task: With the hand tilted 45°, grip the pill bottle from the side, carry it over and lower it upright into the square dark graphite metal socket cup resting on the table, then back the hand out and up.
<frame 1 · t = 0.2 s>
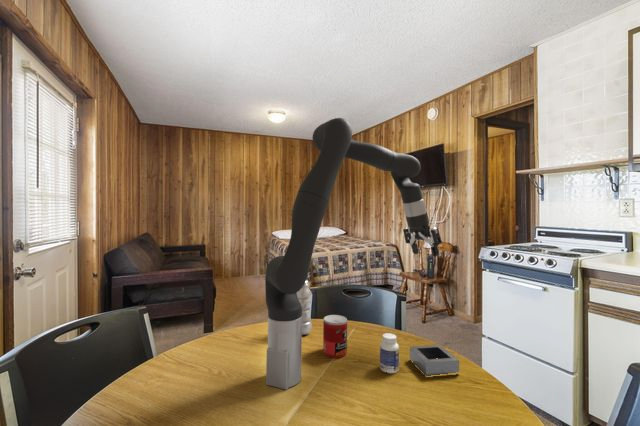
hand: (425, 254, 109), 31 cm above the table, tool tilted 20°, fingers open, 8 cm apart
socket cup: (433, 368, 88), on the table
canned food: (335, 353, 97), on the table
pill bottle: (389, 369, 87), on the table
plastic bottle: (302, 334, 112), on the table
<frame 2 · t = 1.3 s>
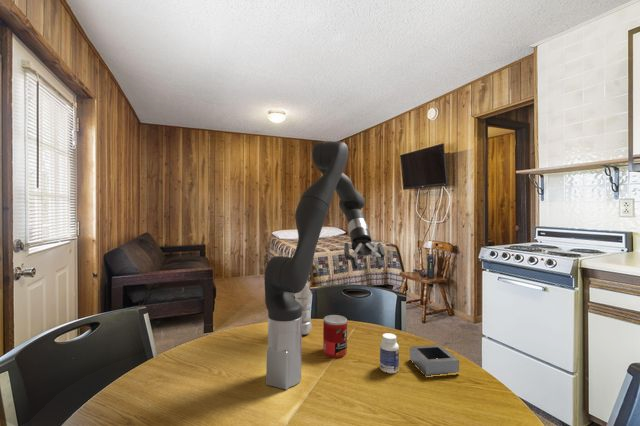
hand: (368, 268, 102), 27 cm above the table, tool tilted 45°, fingers open, 8 cm apart
nothing on the table moved.
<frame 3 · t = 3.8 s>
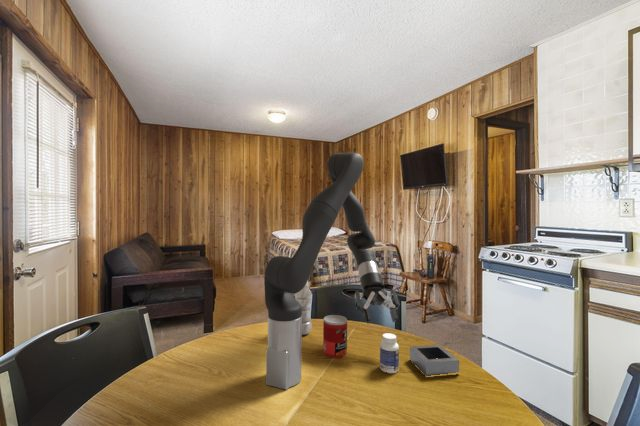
hand: (382, 321, 93), 12 cm above the table, tool tilted 45°, fingers open, 8 cm apart
nothing on the table moved.
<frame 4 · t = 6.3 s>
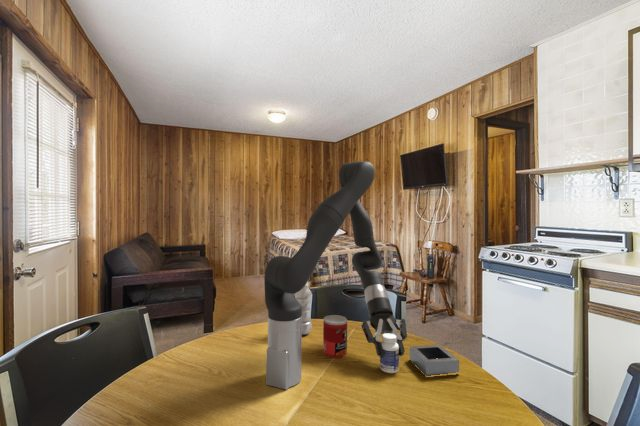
hand: (391, 355, 85), 5 cm above the table, tool tilted 45°, fingers closed on pill bottle, 5 cm apart
pill bottle: (389, 369, 87), on the table, touching gripper
everything else where it was.
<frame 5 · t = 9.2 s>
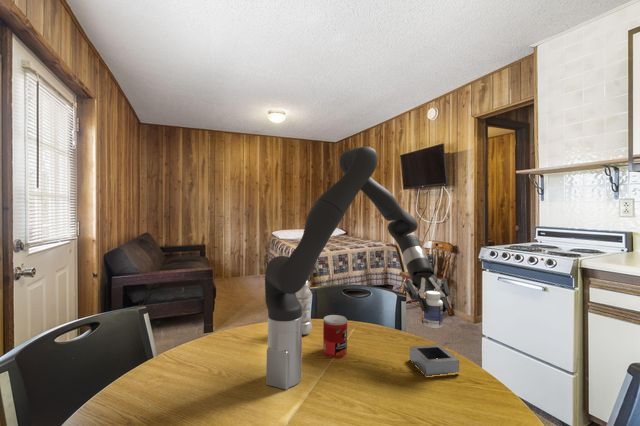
hand: (436, 311, 87), 17 cm above the table, tool tilted 45°, fingers closed on pill bottle, 5 cm apart
pill bottle: (433, 325, 88), point 12 cm above the table, touching gripper
everything else where it was.
when the fingers open (7 cm above the table, at t = 12.0 s): pill bottle drops 2 cm, resting on socket cup.
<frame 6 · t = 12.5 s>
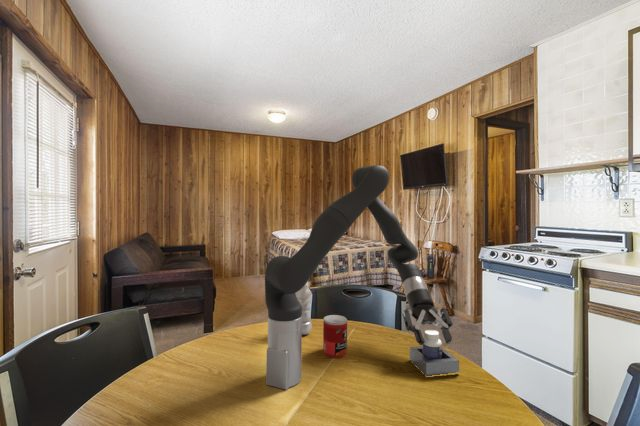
hand: (435, 343, 87), 8 cm above the table, tool tilted 45°, fingers open, 8 cm apart
socket cup: (433, 368, 88), on the table, touching pill bottle
pill bottle: (432, 365, 88), resting on socket cup
everything else where it was.
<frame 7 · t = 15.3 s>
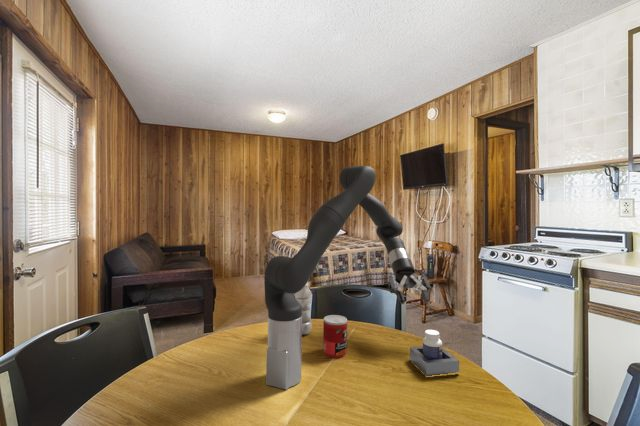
hand: (415, 302, 100), 16 cm above the table, tool tilted 45°, fingers open, 8 cm apart
nothing on the table moved.
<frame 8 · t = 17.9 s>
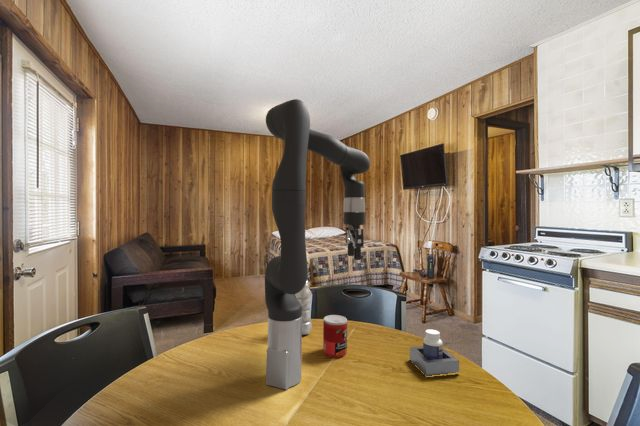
hand: (353, 257, 103), 30 cm above the table, tool pointing down, fingers open, 8 cm apart
nothing on the table moved.
at the end: pill bottle 0.1 cm off-centre on the socket cup, point 0.9 cm above the socket cup's base; pill bottle tilted 2°; the gripper is holding nothing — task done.
